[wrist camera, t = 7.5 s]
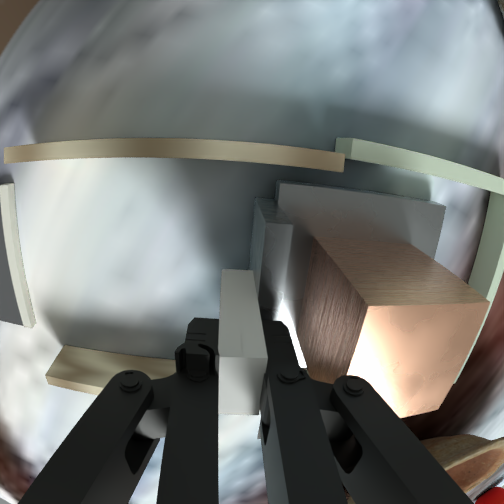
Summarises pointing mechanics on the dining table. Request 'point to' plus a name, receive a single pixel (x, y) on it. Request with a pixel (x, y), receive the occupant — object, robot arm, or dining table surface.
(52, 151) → the channel
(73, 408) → the dining table surface
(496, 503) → the tomato
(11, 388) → the dining table surface
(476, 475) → the bowl
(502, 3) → the stone
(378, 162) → the rails
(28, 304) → the mat
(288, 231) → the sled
